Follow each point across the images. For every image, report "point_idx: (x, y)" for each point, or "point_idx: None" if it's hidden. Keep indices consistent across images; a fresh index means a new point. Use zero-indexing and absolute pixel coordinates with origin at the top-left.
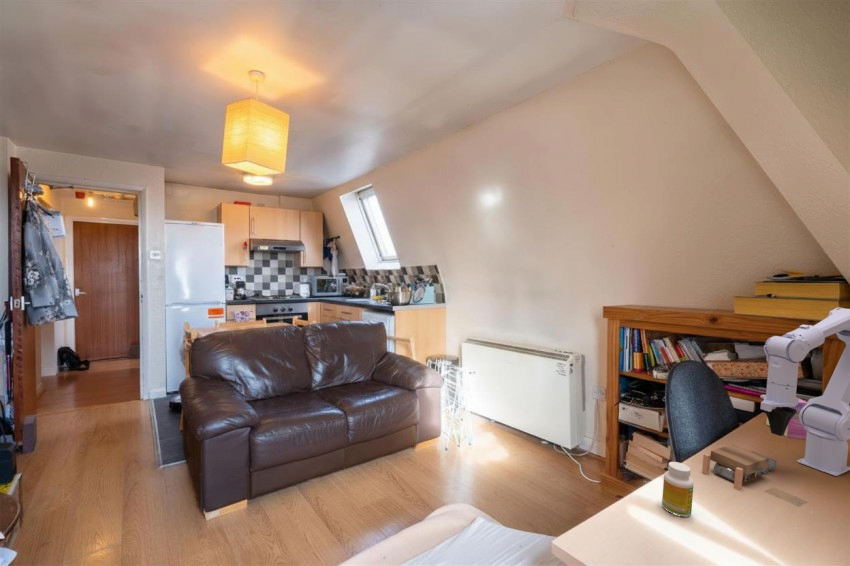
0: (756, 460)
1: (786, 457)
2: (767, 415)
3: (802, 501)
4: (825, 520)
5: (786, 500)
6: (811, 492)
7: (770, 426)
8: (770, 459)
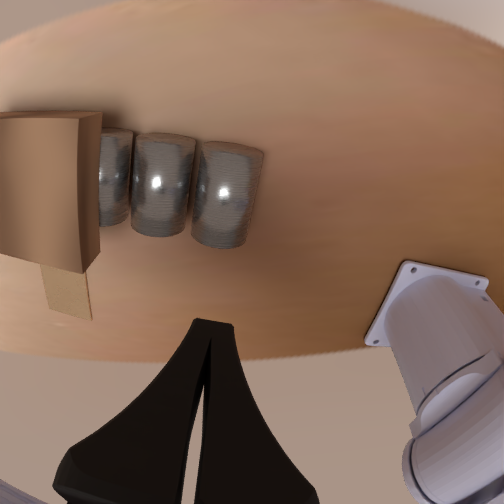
0: (17, 251)
1: (428, 227)
2: (124, 413)
3: (79, 312)
4: (56, 341)
5: (47, 288)
6: (165, 319)
7: (180, 347)
8: (204, 237)
